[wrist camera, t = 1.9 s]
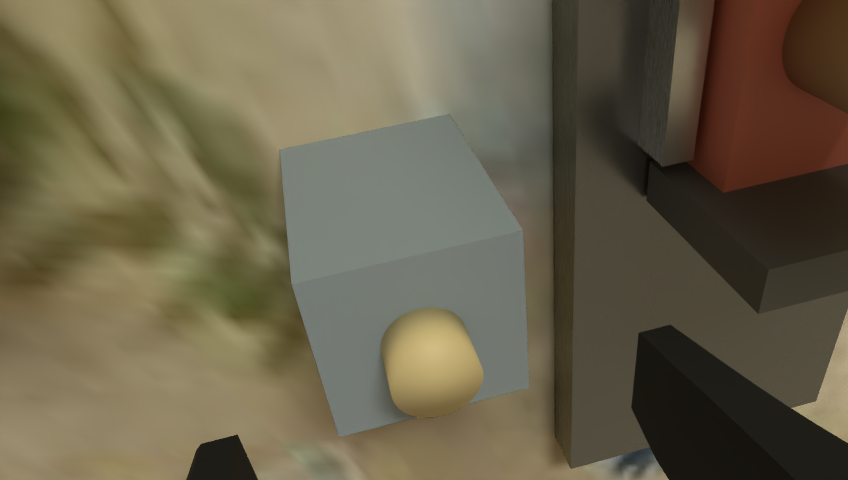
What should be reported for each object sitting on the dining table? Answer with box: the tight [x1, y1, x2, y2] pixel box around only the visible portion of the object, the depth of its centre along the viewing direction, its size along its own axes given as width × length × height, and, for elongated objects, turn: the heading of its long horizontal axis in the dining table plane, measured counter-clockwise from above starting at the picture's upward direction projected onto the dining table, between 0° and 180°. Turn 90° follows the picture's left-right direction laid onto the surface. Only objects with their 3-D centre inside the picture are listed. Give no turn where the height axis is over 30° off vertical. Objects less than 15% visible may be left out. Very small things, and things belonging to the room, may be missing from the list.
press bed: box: [553, 0, 848, 469], centre depth 19 cm, size 20×10×3 cm, turn 9°
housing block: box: [280, 114, 529, 437], centre depth 15 cm, size 4×4×7 cm
